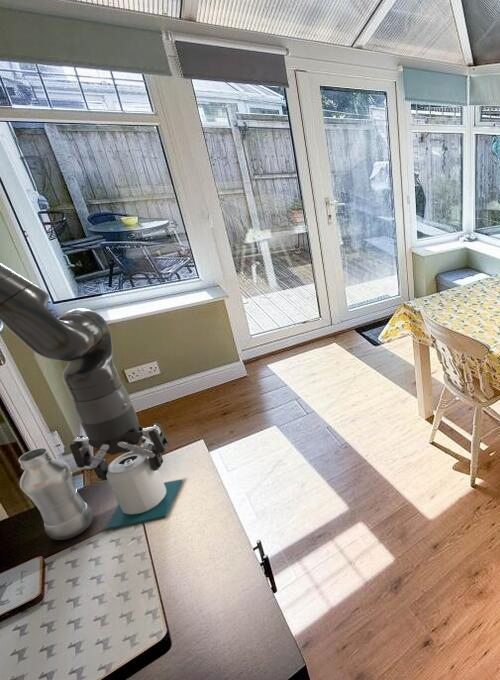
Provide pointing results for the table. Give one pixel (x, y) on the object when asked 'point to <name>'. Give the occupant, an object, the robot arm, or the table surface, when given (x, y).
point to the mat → (155, 513)
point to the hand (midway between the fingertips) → (132, 472)
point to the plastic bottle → (54, 494)
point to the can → (135, 483)
